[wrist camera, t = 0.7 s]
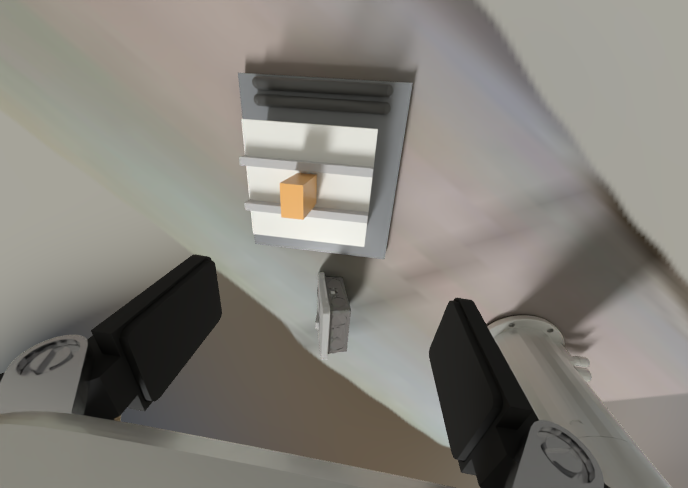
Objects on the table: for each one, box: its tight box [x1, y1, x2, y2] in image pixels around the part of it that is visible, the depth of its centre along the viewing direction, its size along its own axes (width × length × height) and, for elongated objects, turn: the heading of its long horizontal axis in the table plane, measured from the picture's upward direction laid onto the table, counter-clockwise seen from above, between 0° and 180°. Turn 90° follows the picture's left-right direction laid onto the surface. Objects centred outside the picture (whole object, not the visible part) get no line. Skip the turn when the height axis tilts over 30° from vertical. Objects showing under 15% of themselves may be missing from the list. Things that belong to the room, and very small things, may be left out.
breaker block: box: [238, 73, 413, 259], centre depth 28 cm, size 19×21×9 cm
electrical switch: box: [315, 272, 351, 360], centre depth 37 cm, size 9×5×9 cm, turn 176°
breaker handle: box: [280, 173, 317, 220], centre depth 23 cm, size 2×3×5 cm, turn 176°
